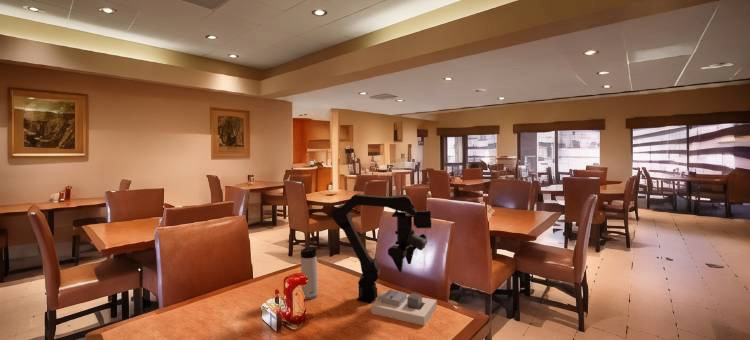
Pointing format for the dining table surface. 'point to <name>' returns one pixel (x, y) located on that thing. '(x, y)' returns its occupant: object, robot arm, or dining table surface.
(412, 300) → the plug
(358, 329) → the dining table surface
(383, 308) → the socket
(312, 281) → the travel mug
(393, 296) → the block
